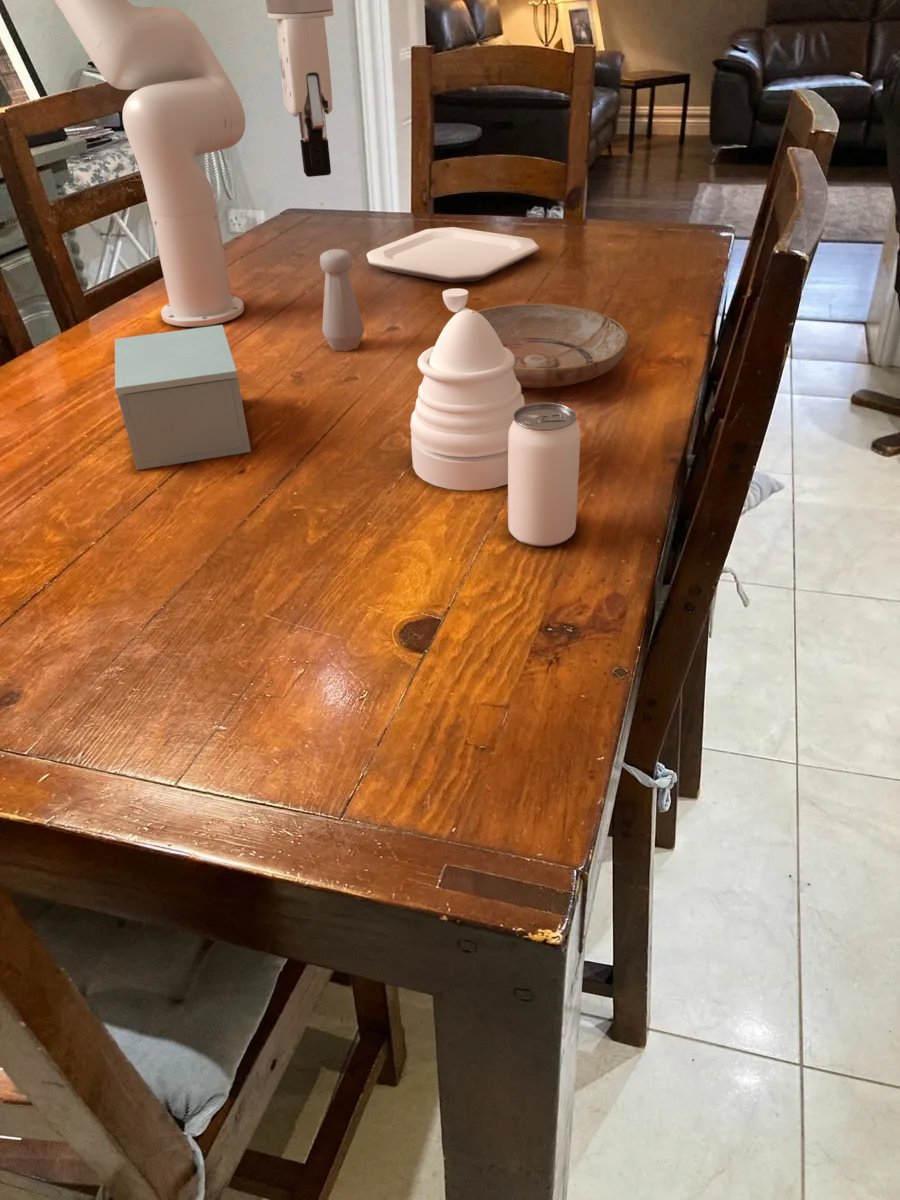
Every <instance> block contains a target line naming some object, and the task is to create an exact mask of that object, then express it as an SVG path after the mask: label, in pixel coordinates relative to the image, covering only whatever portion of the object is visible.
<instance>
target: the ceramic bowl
mask: <svg viewBox="0 0 900 1200" xmlns="http://www.w3.org/2000/svg"><path fill="white" fill-rule="evenodd" d="M475 311H476V312H478V313H480V314H481V315H482V316H483V317H484V318H485V319H486V320H487V321H488V322H489V323H490V325H491V326H492V327H493V329H494V330H495V332H496V334H497V335H498V337H499V339H500V341H501V343H502V345H503V346H504V347H505V348H507V349H509V350H510V351H511V352H512V353H513V355H514V357H515V365H514V366H513V371H514V374H515V376H516V379H517V381H518V382H519V383H520V385H521V388H532V389H543V388H544V389H545V388H554V387H555V388H556V387H564V386H572V385H576V384H580V383H585V382H587V381H591V380H593V379H595V378H597V377H599V376H602V375H603V374H605V373H608V371H610V370H611V369H613V368H614V367H615V366H616V365H617V364H618V363H619V362H620V361H621V360H622V359H623V357H624V356H625V354H626V352H627V349H628V347H629V334H628V331H627V330H626V329H625V327H624V326H623V325H622V324H620V323H619V322H618V321H616V320H614V319H613V318H612V317H611V318H610V316H607V315H605V314H603V313H600V312H597V311H594V310H591V309H588V308H587V309H586V308H582V307H578V306H572V305H563V304H554V303H553V304H552V303H514V304H513V303H512V304H503V305H497V306H492V307H487V308H486V307H485V308H483V309H480V310H475Z"/></svg>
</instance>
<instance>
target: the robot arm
mask: <svg viewBox="0 0 900 1200" xmlns="http://www.w3.org/2000/svg"><path fill="white" fill-rule="evenodd" d="M53 2H54V3H55V4H56V6H57V7H58V8H59V10H60V12H61V13H62V14H63V16H64V18H65V20H66V22H67V23H68V25H69V27H70V28H71V30H72V31H73V33H74V35H75V36H76V37H77V40H78V41H79V42H80V44H81V46H82V47H83V49H84V50H85V52H86V54H87V55H88V57H89V58H90V60H91V62H92V63H93V65H94V66H95V68H96V69H97V71H98V72H99V74H100V75H101V76H102V78H103V79H104V80H105V81H106V83H107V84H109V85H110V86H111V87H113V88H115V89H117V90H123V91H133V90H135V91H133V92H132V93H131V94H130V95H129V96H128V97H127V99H126V100H125V102H124V104H123V107H122V125H123V128H124V132H125V136H126V138H127V140H128V141H127V142H128V143H129V146H130V148H131V151H132V153H133V155H134V158H135V162H136V163H137V167H138V170H139V173H140V176H141V180H142V184H143V186H144V187H143V188H144V192H145V196H146V200H147V205H148V211H149V214H150V218H151V224H152V228H153V232H154V238H155V242H156V247H157V252H158V257H159V261H160V267H161V270H162V271H161V272H162V275H163V280H164V285H165V289H166V294H167V298H168V303H166V305H164V306H163V307H162V309H161V310H160V315H161V319H162V321H163V322H164V323H166V324H168V325H171V326H174V327H181V328H202V327H210V326H216V325H220V324H223V323H226V322H229V321H232V320H234V319H237V318H238V317H240V316H241V315H242V314H243V312H244V310H245V305H244V301H243V300H242V299H241V298H240V297H238V296H234V295H233V294H232V288H231V283H230V277H229V272H228V271H229V270H228V266H227V261H226V260H227V259H226V254H225V249H224V248H225V247H224V244H223V237H222V231H221V225H220V219H219V213H218V208H217V207H218V206H217V203H216V198H215V193H214V190H213V187H212V184H211V182H210V180H209V178H208V177H207V176H206V175H205V173H204V172H203V170H202V169H201V168H200V166H199V165H198V163H197V162H196V160H195V157H199V156H201V155H206V154H210V153H215V152H219V151H223V150H227V149H229V148H232V147H233V146H235V145H237V144H238V143H239V142H240V141H241V139H242V138H243V136H244V134H245V130H246V114H245V110H244V107H243V104H242V100H241V99H240V96H239V94H238V91H237V90H236V88H235V87H234V85H233V83H232V81H231V79H230V78H229V75H228V73H226V71H225V69H224V67H223V66H222V65H221V63H220V61H219V60H218V58H217V56H216V54H215V53H214V51H213V49H212V48H211V46H210V44H209V43H208V41H207V39H206V38H205V36H204V34H203V33H202V32H201V30H200V28H199V27H198V26H197V24H196V22H194V20H193V19H191V17H189V16H188V15H187V14H186V13H185V12H183V11H182V10H181V9H179V8H177V7H172V6H167V5H157V6H155V5H154V6H146V7H140V6H136V5H134V4H133V3H131V1H130V0H53ZM265 5H266V12H267V19H271V20H272V19H273V20H276V31H277V47H278V56H279V57H278V58H279V64H280V65H279V68H280V75H281V78H280V79H281V86H282V87H281V88H282V99H283V106H284V108H285V109H286V110H287V111H288V113H290V115H292V116H293V117H294V118H297V117H298V123H299V131H300V138H301V139H300V140H299V141H300V149H301V150H300V151H301V159H302V167H303V173H304V174H305V176H306V177H307V178H313V177H323V176H330V175H331V173H332V169H331V167H332V166H331V157H330V148H329V139H328V137H327V123H326V115H329V114H330V113H331V112H332V111H333V93H332V79H331V78H332V77H331V67H330V66H331V65H330V57H329V47H328V37H327V31H326V30H327V29H326V21H325V18H327V17H332V16H334V15H335V14H334V3H333V0H265Z"/></svg>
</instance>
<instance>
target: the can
mask: <svg viewBox="0 0 900 1200" xmlns="http://www.w3.org/2000/svg"><path fill="white" fill-rule="evenodd" d="M513 419H514V420H513V422H512V424H511V426H510V429H509V435H508V484H507V518H508V519H507V526H508V530H509V533H510V535H512V536H513V537H514V539H515V540H517V541H518V542H520V543H521V544H524V545H527V546H530V547H538V548H539V547H540V548H546V547H554V546H559V545H562V544H564V543H565V542H566V541H569V540H570V538H572V536H573V535H574V534H575V532H576V527H577V526H576V525H577V511H578V496H579V495H578V492H579V475H580V474H579V473H580V472H579V471H580V451H581V429H580V426H579V424H578V422H577V413H576V411H575V410H573V408H571V407H569V406H567V405H565V404H561V403H555V402H533V403H528V404H525V406H522V407H520V408H519V409H517V410H516V411H515V412H514V414H513Z"/></svg>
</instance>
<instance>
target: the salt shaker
mask: <svg viewBox="0 0 900 1200" xmlns="http://www.w3.org/2000/svg"><path fill="white" fill-rule="evenodd" d="M319 265H320V268H321V270H322V271H323V272H325V276H324V290H323V292H324V293H323V307H322V308H323V309H322V327H321V331H322V335H323V336H324V338H325V340H326V342H327V343H328V345H329V347H330V348H331V349H332V350H333V351H337V352H349V351H352V350H355V349H358V348H359V345H360V343H361V340H362V337H363V335H364V333H365V326H364V323H363V319H362V316H361V313H360V310H359V305H358V302H357V299H356V295H355V291H354V288H353V283H352V279H351V276H350V270H351V269H352V268H353V257H352V254H351V253H350V251H348V250H346V249H341V248H333V249H329V250H326V251H324V252H322V253H321V254H320V256H319Z"/></svg>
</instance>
